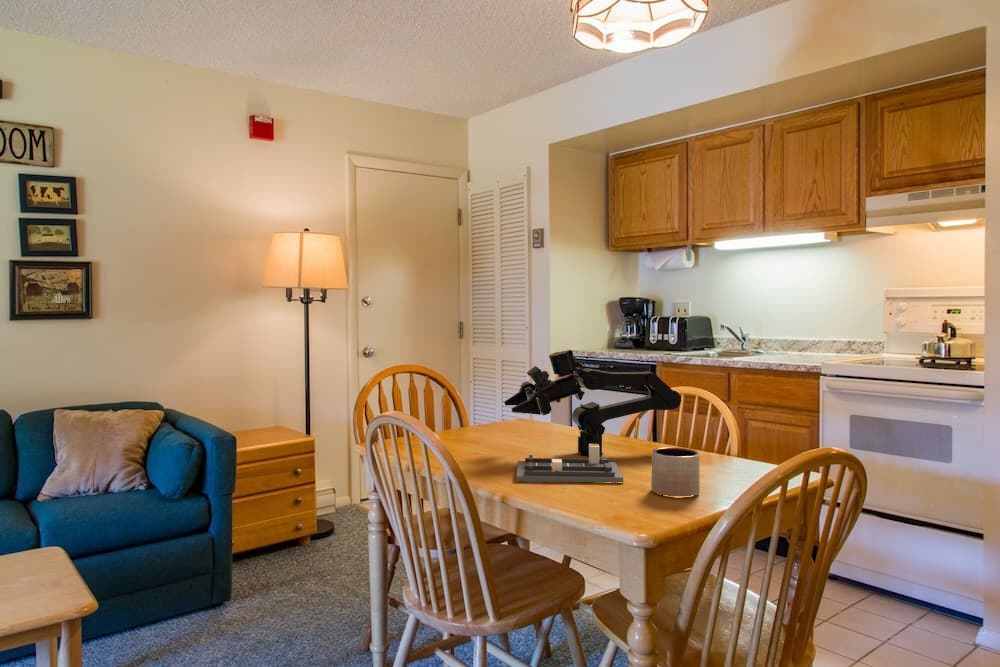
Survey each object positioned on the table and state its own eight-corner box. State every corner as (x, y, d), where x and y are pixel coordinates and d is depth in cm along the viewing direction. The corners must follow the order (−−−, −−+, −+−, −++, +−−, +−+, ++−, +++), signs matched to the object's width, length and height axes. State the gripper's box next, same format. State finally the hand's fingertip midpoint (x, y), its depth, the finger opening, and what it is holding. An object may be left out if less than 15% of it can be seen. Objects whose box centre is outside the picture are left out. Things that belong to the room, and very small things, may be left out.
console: (615, 467, 181) (615, 451, 181) (623, 483, 165) (623, 465, 165) (517, 466, 182) (517, 449, 182) (516, 482, 166) (516, 463, 166)
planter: (653, 498, 153) (653, 456, 153) (649, 485, 164) (649, 446, 163) (702, 500, 152) (703, 457, 151) (695, 487, 162) (696, 447, 162)
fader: (597, 462, 179) (598, 442, 179) (599, 466, 175) (599, 445, 175) (588, 462, 179) (588, 442, 179) (589, 465, 176) (590, 445, 175)
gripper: (542, 358, 203) (493, 374, 201) (561, 368, 185) (507, 386, 183) (552, 393, 205) (504, 409, 203) (571, 406, 187) (518, 424, 184)
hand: (508, 406), depth 193 cm, fingers open, 9 cm apart
